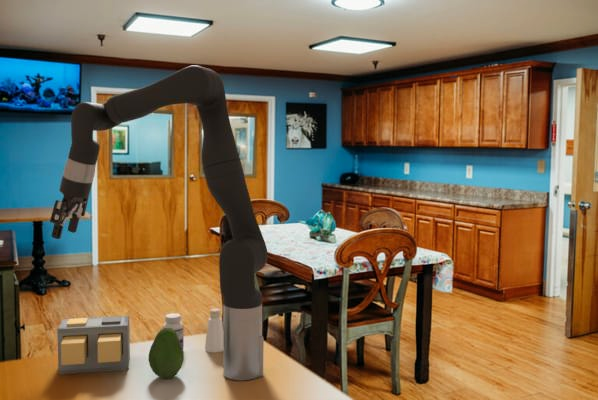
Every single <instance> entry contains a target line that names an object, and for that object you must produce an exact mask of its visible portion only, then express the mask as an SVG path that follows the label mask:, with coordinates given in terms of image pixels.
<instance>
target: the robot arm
mask: <svg viewBox="0 0 598 400" xmlns="http://www.w3.org/2000/svg"><path fill="white" fill-rule="evenodd" d="M181 104H188V105H193V106H195V107H196V108H197V111H198V114H199V117H200V122H201V125H202V131H203V132H202V133H203V135H202V137H203V138H202V145H201V159H200V160H201V166H202V171H203V174H204V178H205V182H206V185H207V188H208V190H209V193H210V195H211V196H212V198H213V199H214V201H215V202H216V204H217V205H218V206H219V208H221V210H222V212H223V213H224V214H225V217H226V219H227V221H228V225H229V229H230V231H231V234H232V235H231V236H232V239H230V240H228V241H227V242H225V243H224V244H223V245H222V247H221V249H220V252H219V260H218V272H219V289H220V294H221V296H222V298H223V309H222V310H223V312H222V313H223V315H222V317H223V319H222V324H223V351H222V355H223V357H222V359H223V361H222V363H223V364H222V368H223V373H222V374H223V376H224V377H226V378H227V379H230V380H234V381H249V380H254V379H256V378H260V377H263V376H264V336H263V293H262V291H261V290H259V289H257V288H256V283H255V282H256V281H255V280H256V279H255V278H256V277H255V276H256V275H255V274H256V273H257V272H260V271H262V270H263V269H264V268H265V266H266V264H267V262H268V258H269V257H268V249H267V244H266V241H265V239H264V237H263V234H262V231H261V229H260V228H261V227H260V226H259V223H258V221H257V218H256V214H255V212H254V207H253V204H252V199H251V197H250V192H249V188H248V185H247V182H246V176H245V172H244V168H243V164H242V161H241V158H240V154H239V151H238V147H237V144H236V139H235V135H234V132H233V129H232V128H233V127H232V125H231V121H230V116H229V109H228V104H227V97H226V91H225V85H224V83H223V80H222V78H221V76H220V75H219V74H218V72H216V71H215V70H213V69H211V68H208V67H207V68H206V67H204V66H201V65H188V66H186V67H183V68H181V69H180V70H178V71H175V72H174V73H172V74H170V75H168V76H166V77H165V78H162V79H160V80H158V81H155V82H153V83H151V84H149V85H145V86H143V87H140V88H136V89H132V90H128V91H126V92H123V93H119V94H116V95H113V96H111V97H110V98H108V99H107V101H106V102H103V103H98V102H97V103H96V102H88V101H82V102H79V103H77V105H76V106H74V109H73V111H72V112H71V119H70V132H71V133H70V135H71V144H70V148H69V152H68V156H67V160H66V162H65V165H64V167H63V168H64V169H63V171H62V172H63V173H62V177H61V180H60V185H59V189H58V190H59V192H60V194H62V195H63V197H62V199H61V201H60V200H58V199H56V200H55V202H54V205H53V209H52V212H51V216H50V219H49V222H50V223H52V224H53V227H52V232H51V237H52V238H53V239H55V240H59V239H61V238H62V233H63V229H64V225H65V223H66V221H67V220H69V223H68V227H67V232H70V233H73V234H75V233H76V232H77V230H78V227H79V223H80V221H81V220H82V217H85V215H86V211H87V206H88V202H89V196H90V195H91V190H92V185H93V181H94V178H95V175H96V174H95V173H96V167H97V166H96V165H97V163H98V157H99V154H100V150H101V149H100V148H101V146H100V143H99V142H98V141H96V140H95V139H94V132H102V131H103V132H104V131H107V130H110V129H113V128H116V127H117V126H120V125H121V124H122V123H126V122H127V123H128V122H130V121H135V120H138V119H141V118H144V117H147V116H149V115H150V114H152V113H154V112H155V111H157V110H159V109H161V108H164V107H167V106H171V105H172V106H173V105H181Z"/></svg>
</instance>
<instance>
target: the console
mask: <svg viewBox="0 0 598 400" xmlns="http://www.w3.org/2000/svg"><path fill="white" fill-rule="evenodd" d="M130 330H131V329H130V315H120V316H119V315H118V316H117V315H116V316H102V317H101V316H100V317H76V318H63V319H62V320H61V322H60V324H59V325H58V327H57V331H56V332H57V362H58V363H57V367H58V368H57V369H58V372H57V373H58V375H64V374H78V373H79V374H80V373H94V372H95V373H96V372H107V371H119V370H121V371H123V370H129V366H130V361H131V347H130V346H131V345H130V344H131V342H130V341H131V339H130ZM106 333H122V355H121V360H120V361H116V362H101V363H98V339H99V336H100V334H106ZM70 335H88V354H87V357H86V360H85V363H84V364H72V365H61V343H62V341H63V339H64V337H65V336H70Z"/></svg>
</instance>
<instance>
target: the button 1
mask: <svg viewBox="0 0 598 400" xmlns="http://www.w3.org/2000/svg"><path fill="white" fill-rule="evenodd" d="M87 354H88V335H70V336H65V337H64V339H63V341H62V343H61V365H72V364H84V363H85V360H86V357H87Z"/></svg>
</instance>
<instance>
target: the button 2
mask: <svg viewBox="0 0 598 400" xmlns="http://www.w3.org/2000/svg"><path fill="white" fill-rule="evenodd" d="M121 355H122V333H106V334H100V336H99V339H98V363H101V362H116V361H120V360H121Z"/></svg>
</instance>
